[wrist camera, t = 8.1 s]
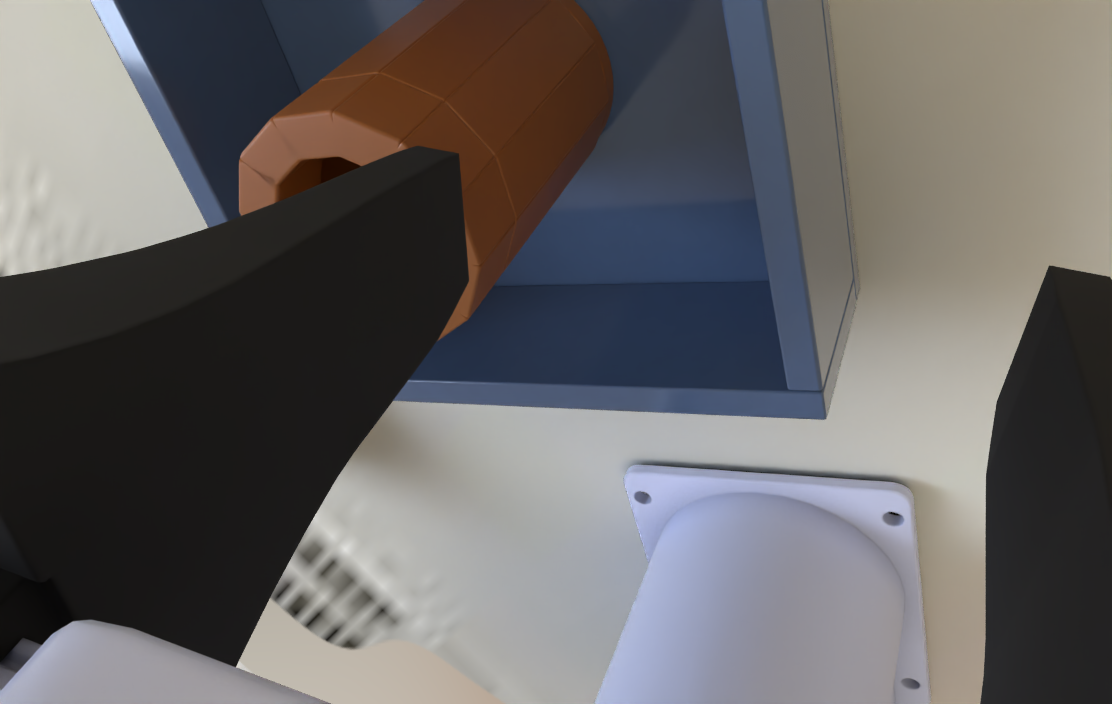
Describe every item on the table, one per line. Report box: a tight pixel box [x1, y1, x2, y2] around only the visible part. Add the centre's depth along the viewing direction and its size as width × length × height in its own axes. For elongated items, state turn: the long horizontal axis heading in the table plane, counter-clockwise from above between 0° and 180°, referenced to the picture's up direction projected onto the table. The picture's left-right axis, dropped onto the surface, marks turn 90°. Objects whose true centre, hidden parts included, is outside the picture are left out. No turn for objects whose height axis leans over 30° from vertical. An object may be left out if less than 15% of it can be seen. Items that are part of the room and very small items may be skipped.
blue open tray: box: [90, 0, 860, 420], centre depth 21 cm, size 12×13×5 cm
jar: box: [239, 0, 614, 341], centre depth 19 cm, size 5×5×7 cm
